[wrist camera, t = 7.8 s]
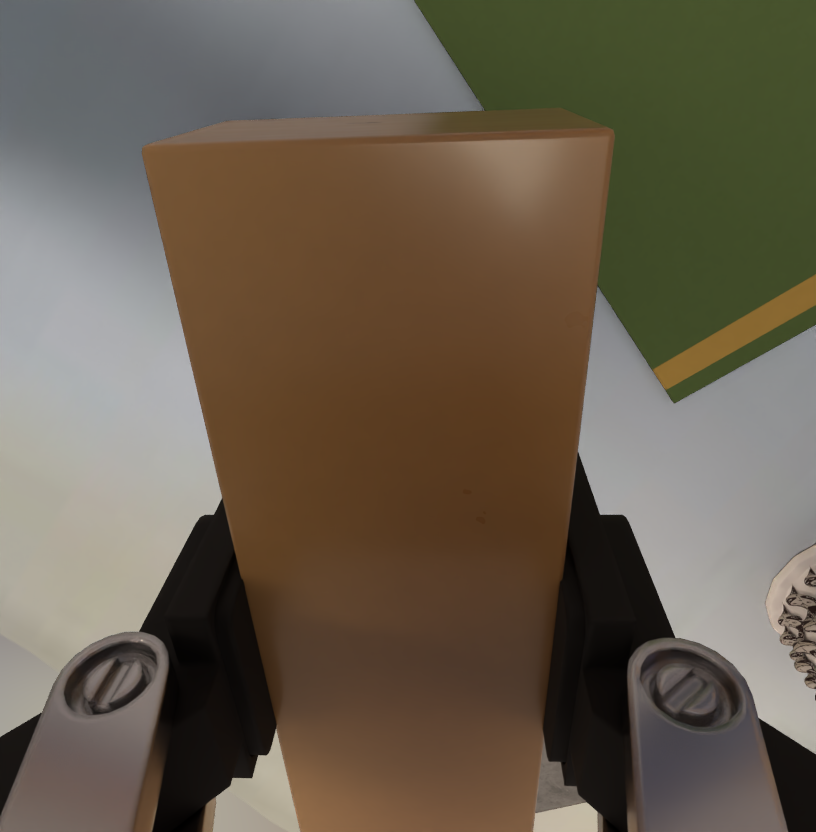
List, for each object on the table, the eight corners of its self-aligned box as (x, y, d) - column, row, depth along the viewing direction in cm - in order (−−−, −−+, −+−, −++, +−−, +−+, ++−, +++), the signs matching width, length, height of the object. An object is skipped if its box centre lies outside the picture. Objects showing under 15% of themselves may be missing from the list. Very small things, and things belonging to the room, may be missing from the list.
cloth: (333, -126, 18) (331, -128, 18) (810, -643, 14) (818, -657, 13) (671, 400, 26) (674, 404, 26) (1044, 192, 22) (1051, 194, 21)
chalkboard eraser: (339, 715, 15) (312, 890, 12) (249, 112, 8) (137, 145, 5) (507, 719, 15) (526, 897, 11) (549, 101, 8) (618, 129, 5)
